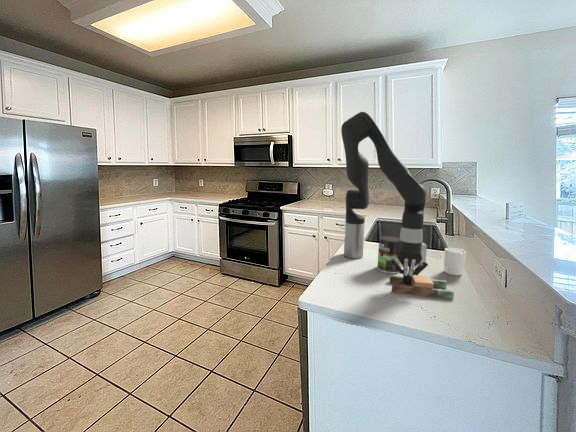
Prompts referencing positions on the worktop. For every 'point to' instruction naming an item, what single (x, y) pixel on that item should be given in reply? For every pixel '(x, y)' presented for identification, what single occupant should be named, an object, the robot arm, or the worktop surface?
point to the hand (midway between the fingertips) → (406, 284)
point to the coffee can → (388, 253)
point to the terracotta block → (422, 281)
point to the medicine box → (424, 251)
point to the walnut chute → (420, 290)
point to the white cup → (454, 261)
